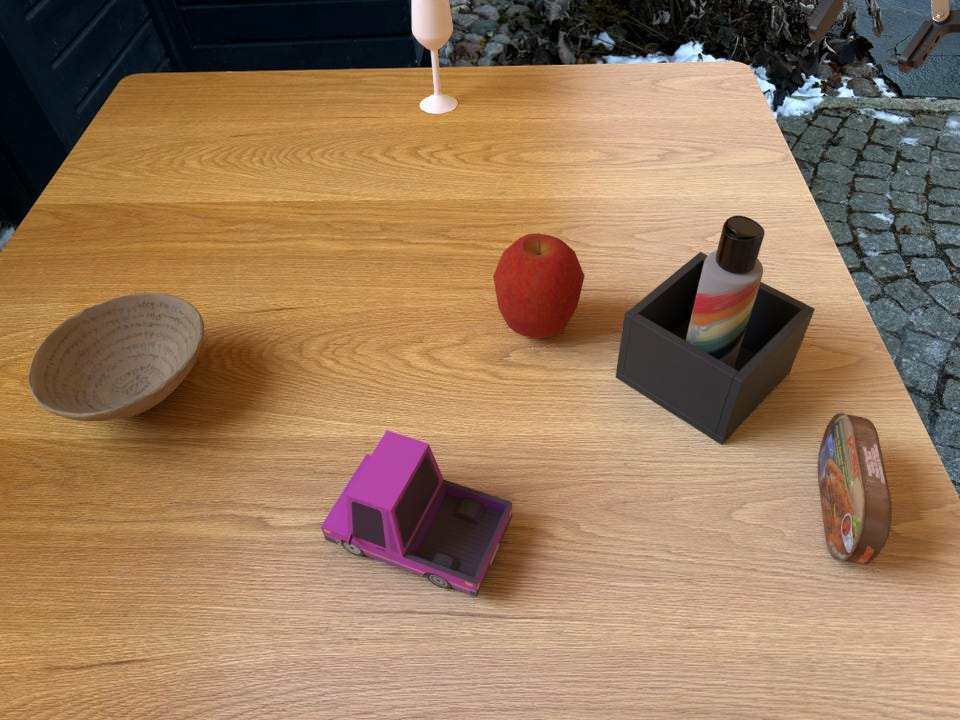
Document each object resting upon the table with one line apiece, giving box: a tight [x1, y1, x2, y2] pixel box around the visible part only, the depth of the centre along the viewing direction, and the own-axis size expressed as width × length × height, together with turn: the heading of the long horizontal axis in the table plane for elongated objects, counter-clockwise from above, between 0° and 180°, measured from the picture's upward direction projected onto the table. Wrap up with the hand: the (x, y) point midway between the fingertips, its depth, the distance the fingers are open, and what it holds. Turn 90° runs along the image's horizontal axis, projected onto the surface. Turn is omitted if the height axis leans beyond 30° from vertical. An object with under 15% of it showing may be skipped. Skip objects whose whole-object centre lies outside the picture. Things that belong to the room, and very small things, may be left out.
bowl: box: [27, 292, 205, 422], centre depth 83 cm, size 18×18×8 cm
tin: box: [817, 412, 893, 565], centre depth 69 cm, size 15×3×8 cm, turn 168°
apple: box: [492, 232, 585, 339], centre depth 86 cm, size 10×10×14 cm
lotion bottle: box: [686, 215, 766, 368], centre depth 77 cm, size 6×6×20 cm
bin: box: [615, 251, 816, 445], centre depth 81 cm, size 14×14×10 cm
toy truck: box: [320, 430, 513, 598], centre depth 69 cm, size 11×16×10 cm
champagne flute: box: [411, 0, 458, 115], centre depth 122 cm, size 7×7×24 cm
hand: (856, 52), depth 65 cm, fingers open, 8 cm apart
